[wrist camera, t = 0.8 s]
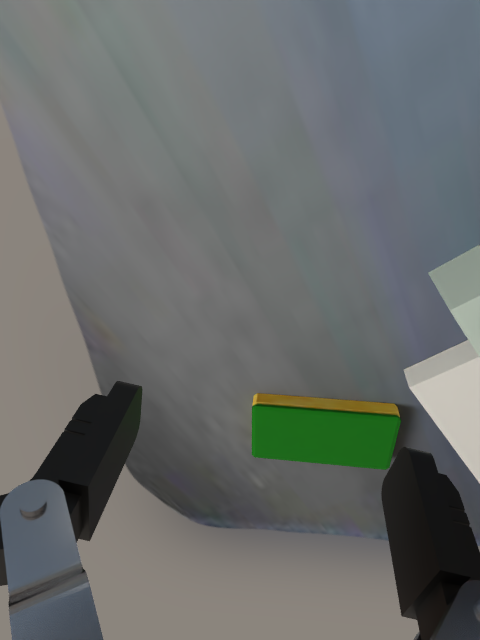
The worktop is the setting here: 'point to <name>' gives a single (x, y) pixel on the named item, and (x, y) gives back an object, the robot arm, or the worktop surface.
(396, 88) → the worktop surface
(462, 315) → the plug
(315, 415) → the dish sponge
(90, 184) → the worktop surface
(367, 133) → the worktop surface
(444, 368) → the socket plate
